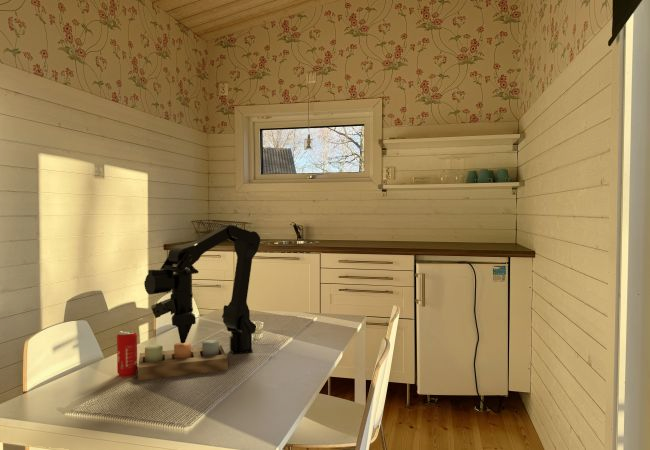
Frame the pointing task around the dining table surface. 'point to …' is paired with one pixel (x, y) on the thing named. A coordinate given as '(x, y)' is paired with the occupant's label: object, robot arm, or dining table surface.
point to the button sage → (154, 353)
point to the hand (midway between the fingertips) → (182, 342)
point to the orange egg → (182, 350)
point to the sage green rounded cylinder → (210, 348)
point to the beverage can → (127, 353)
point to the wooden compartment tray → (181, 364)
